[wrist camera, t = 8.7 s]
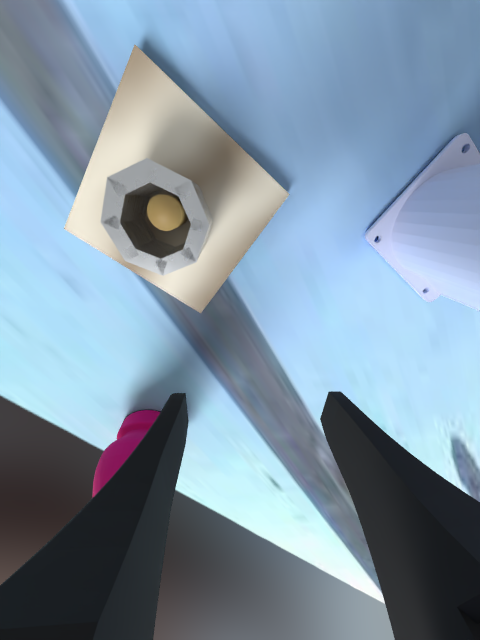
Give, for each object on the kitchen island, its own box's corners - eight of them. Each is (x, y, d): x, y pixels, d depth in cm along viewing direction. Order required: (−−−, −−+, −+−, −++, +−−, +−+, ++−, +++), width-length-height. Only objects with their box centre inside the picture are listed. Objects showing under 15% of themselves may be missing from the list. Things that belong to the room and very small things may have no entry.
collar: (221, 241, 16) (220, 252, 12) (158, 267, 17) (140, 285, 13) (189, 159, 14) (176, 143, 10) (116, 193, 14) (80, 190, 11)
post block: (286, 194, 16) (304, 191, 12) (201, 309, 19) (196, 332, 16) (140, 53, 12) (104, -10, 8) (71, 227, 16) (26, 234, 12)
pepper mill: (114, 440, 27) (-105, 900, 9) (124, 399, 24) (-175, 968, 6) (173, 450, 28) (84, 859, 11) (189, 414, 25) (103, 897, 8)
